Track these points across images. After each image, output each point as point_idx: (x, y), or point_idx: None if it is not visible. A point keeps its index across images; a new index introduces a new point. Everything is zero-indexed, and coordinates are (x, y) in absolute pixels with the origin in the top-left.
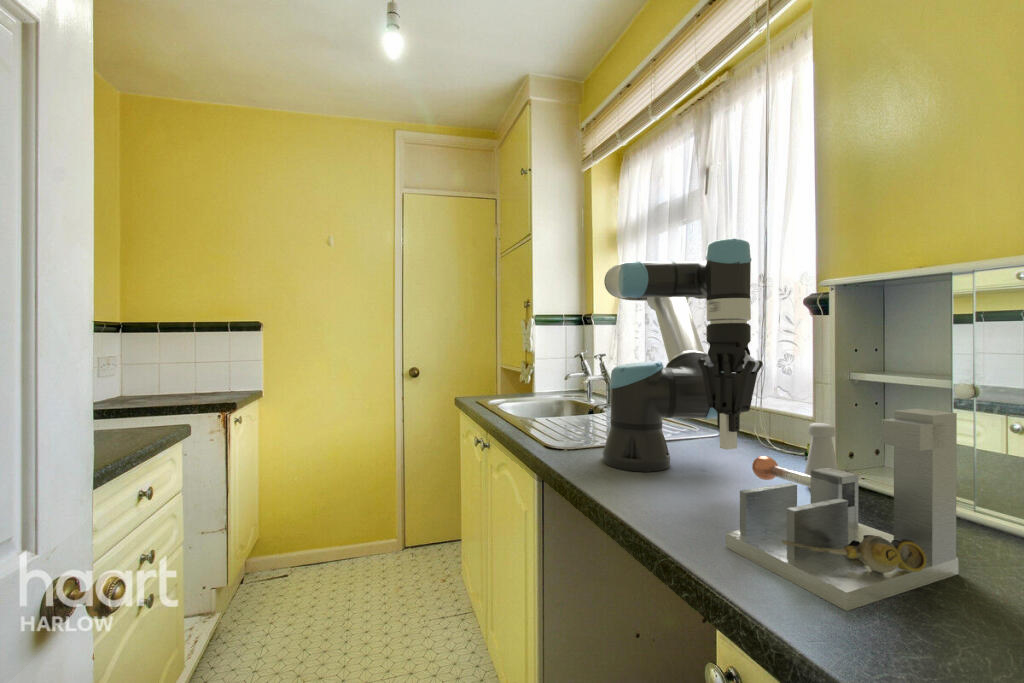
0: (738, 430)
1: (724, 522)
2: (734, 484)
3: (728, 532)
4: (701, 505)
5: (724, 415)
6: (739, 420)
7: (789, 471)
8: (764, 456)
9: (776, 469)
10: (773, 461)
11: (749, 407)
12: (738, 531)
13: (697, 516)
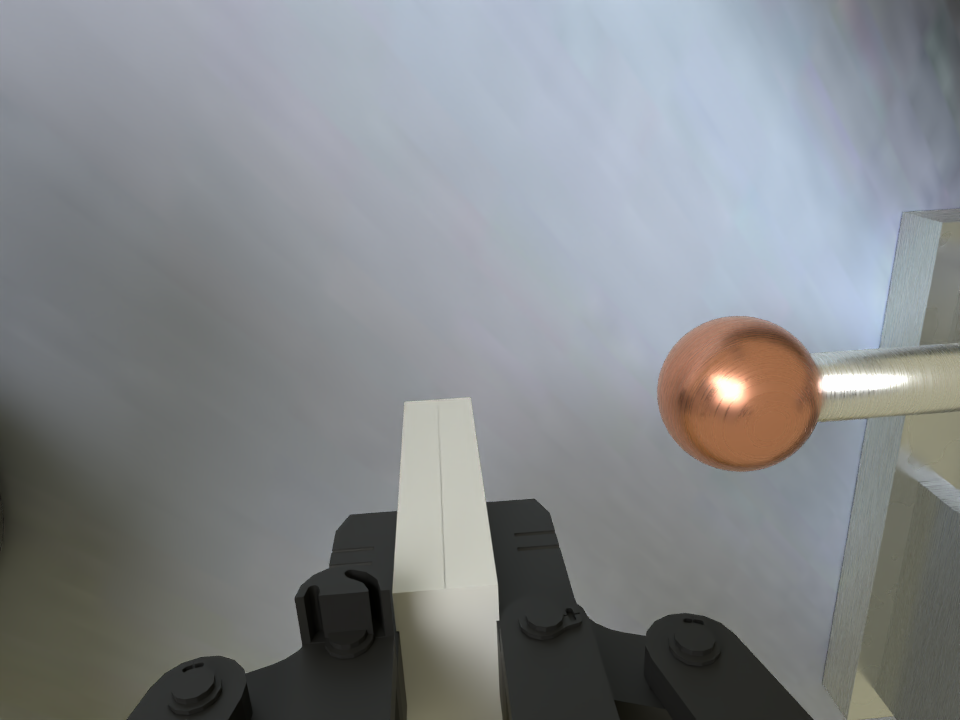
0: (542, 512)
1: (686, 571)
2: (289, 155)
3: (849, 712)
4: None
5: (477, 715)
6: (565, 568)
7: (929, 408)
8: (769, 433)
9: (843, 418)
10: (818, 405)
11: (753, 666)
12: (861, 683)
13: (601, 622)
